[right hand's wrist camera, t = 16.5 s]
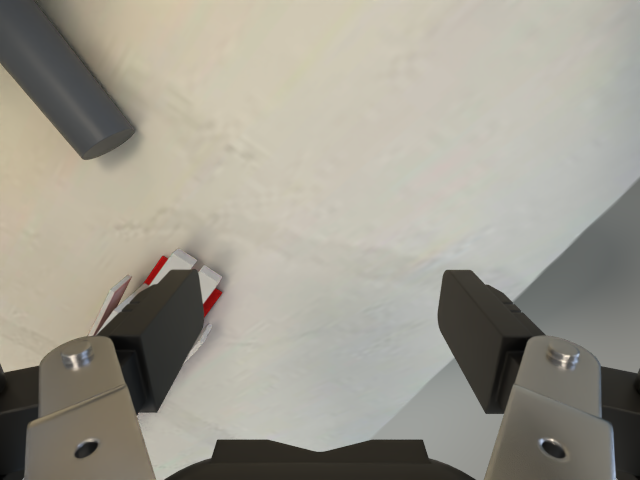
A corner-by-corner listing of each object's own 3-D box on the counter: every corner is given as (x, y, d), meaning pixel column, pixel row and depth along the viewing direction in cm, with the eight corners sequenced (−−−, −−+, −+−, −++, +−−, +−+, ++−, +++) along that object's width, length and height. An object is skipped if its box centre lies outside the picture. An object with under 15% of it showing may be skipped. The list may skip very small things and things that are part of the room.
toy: (231, 312, 37) (89, 496, 41) (247, 271, 50) (137, 415, 54) (131, 248, 35) (-10, 452, 39) (174, 222, 47) (65, 377, 52)
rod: (144, 127, 40) (113, 130, 34) (105, 156, 41) (70, 163, 35) (-45, -120, 32) (-126, -170, 26) (-86, -75, 33) (-172, -114, 27)
